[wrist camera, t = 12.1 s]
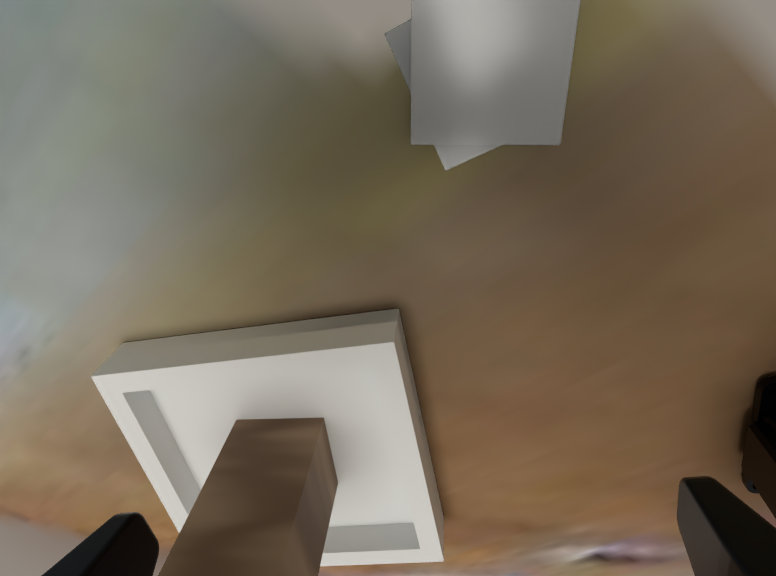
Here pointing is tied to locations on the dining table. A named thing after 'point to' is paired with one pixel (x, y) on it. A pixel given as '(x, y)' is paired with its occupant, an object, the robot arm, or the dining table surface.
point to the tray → (290, 400)
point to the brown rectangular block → (261, 504)
